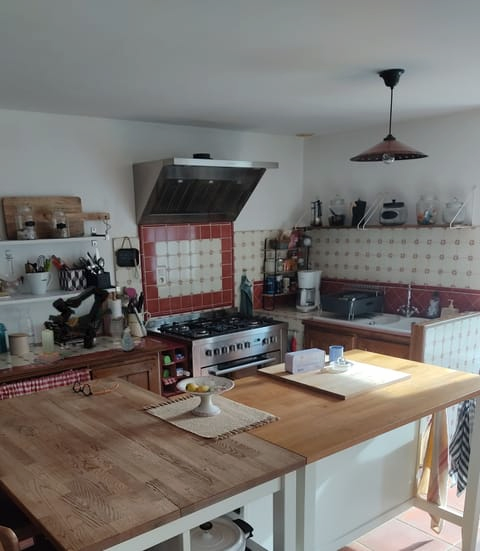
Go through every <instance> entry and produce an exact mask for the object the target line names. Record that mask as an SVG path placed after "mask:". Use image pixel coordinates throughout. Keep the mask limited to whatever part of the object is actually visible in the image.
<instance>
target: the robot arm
mask: <svg viewBox="0 0 480 551" xmlns="http://www.w3.org/2000/svg"><path fill="white" fill-rule="evenodd" d="M91 296H93V299H94V301H93V303H92V305H91V308H90V310H89V312H88V315H87V316H86V319H85V321H83V322H80V324H79V326H78V330H77V331H78V334H79V337H80V338H82V344H83V345H82V346H81V347H80V348H84V349H92V348H94V347H96V344H94V339H95V338H96V337H97V333H96V332H95V331H94V323H95V320H96V318H97V316H98V313H99V311H100V309H101V307H102V305H103V303H105V302H106V301H107V300H108V298H109V296H110V293H109V291H108V289H102V288H99V287H97V286H94V285H93V286H92V285H91V286H89V287H88V288H86V289H85V290H84V291H82V292H80V293H79V294H78V295H75V296H71V297H68V298H66V300H64V299H63V298H62V297H59V298H58V299H56V300H54V301H52V307H53V308H54V309H55V310H56V311H57V312H59V313H60V314H57V315H53V314H49V316H48V319H47V320H46V321H44V323H43V326H44V327H45V330H47V329H49V330H53V331H54V330H55V329H60V330H59V333H58V335H57V336H56V339H55V341H56V342H57V341H59V340H61V339H62V338H63V337H66V336H67V335H69V334H72V333H73V331H74V327H72V326H71V325H70V324H67V323H69V322H70V320H69V319H70V318H71V316H72V315H76V310H75V309H78V308H79V307H80V306H81V305H82V303H84V302H83V301H85V300H87V299H89V298H90V297H91Z"/></svg>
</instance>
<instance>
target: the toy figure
mask: <svg viewBox="0 0 480 551" xmlns="http://www.w3.org/2000/svg"><path fill="white" fill-rule="evenodd" d="M131 331H132V330H131V329H130V328H129V327H128V328H126V330H124V333H125V334H124V337H123V339H114V340H113V339H112V345H114V346H120V348H121V349H122V350H123V351H125V352H129V351H132V350H133V349H134V347H135V346H134V345H138V344H141V343H142V341H141V340H142V339H141V337H138V336H137V337H132V336H131V333H130V332H131ZM113 342H114V343H113ZM120 342H122V344H121V343H120Z"/></svg>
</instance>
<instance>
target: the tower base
mask: <svg viewBox="0 0 480 551" xmlns="http://www.w3.org/2000/svg"><path fill="white" fill-rule="evenodd" d="M63 358H65V357H64V356H63V355H60V352H57V351H54V354H51V355H43V352H41V353H39V354H37V357H34V358H33V360H32V362H33V363H37V362H39V363H38V364H42V363H47V364H48V363H51V362H54V361H57V360H60V359H63ZM63 360H64V359H63ZM60 361H61V360H60ZM57 362H58V361H57ZM54 363H55V362H54ZM47 364H46V365H47ZM51 364H52V363H51Z"/></svg>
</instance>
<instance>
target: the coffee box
mask: <svg viewBox="0 0 480 551" xmlns="http://www.w3.org/2000/svg"><path fill="white" fill-rule="evenodd" d="M126 328H128V329H129V326H128V317H127V316H117V317H114V318H112V319H111V329H112V331H111V332H112V344H113V343H114V342H113V340H114V339H123V337H124V334H125V333H124V330H126ZM120 343H121V344H122V342H120Z"/></svg>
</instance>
